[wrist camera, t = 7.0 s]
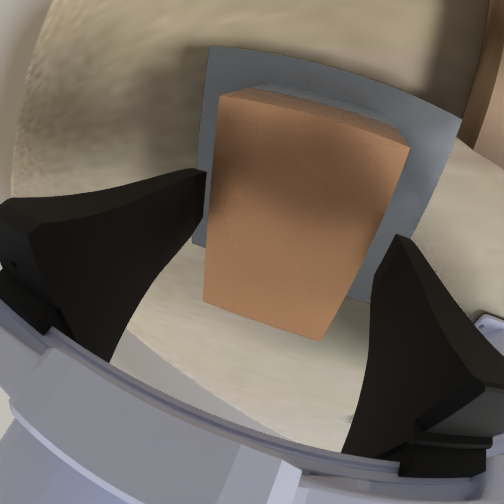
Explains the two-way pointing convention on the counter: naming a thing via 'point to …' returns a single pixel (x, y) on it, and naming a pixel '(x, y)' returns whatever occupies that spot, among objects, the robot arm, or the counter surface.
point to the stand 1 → (352, 91)
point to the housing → (295, 203)
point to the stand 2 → (488, 93)
